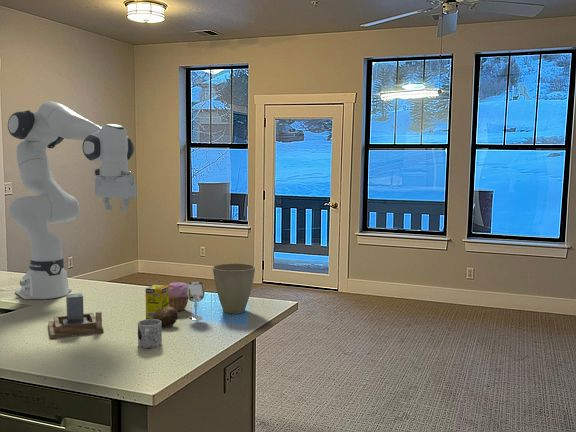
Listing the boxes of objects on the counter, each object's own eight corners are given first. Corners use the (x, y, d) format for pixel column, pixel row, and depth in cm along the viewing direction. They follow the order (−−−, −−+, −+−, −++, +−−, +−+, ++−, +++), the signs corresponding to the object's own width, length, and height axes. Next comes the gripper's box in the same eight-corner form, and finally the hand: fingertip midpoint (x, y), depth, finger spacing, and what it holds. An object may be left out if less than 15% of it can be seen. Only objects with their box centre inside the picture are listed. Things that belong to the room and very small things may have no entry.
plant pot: (263, 311, 200) (263, 267, 198) (229, 319, 190) (229, 272, 188) (238, 303, 211) (238, 261, 209) (204, 310, 201) (204, 266, 199)
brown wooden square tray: (48, 325, 181) (47, 306, 181) (97, 319, 188) (97, 301, 187) (50, 338, 168) (50, 318, 167) (103, 332, 174) (103, 312, 174)
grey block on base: (62, 323, 179) (61, 293, 178) (86, 320, 182) (85, 291, 181) (64, 329, 173) (63, 299, 172) (88, 326, 176) (87, 296, 175)
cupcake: (161, 309, 202) (160, 281, 201) (182, 305, 208) (182, 278, 207) (173, 314, 195) (173, 285, 194) (195, 310, 201) (195, 282, 200)
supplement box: (162, 322, 186) (161, 289, 185) (145, 320, 187) (144, 288, 186) (169, 317, 192) (169, 285, 191) (153, 315, 193) (152, 284, 192)
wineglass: (183, 318, 191) (183, 283, 190) (197, 314, 195) (197, 280, 194) (194, 321, 187) (194, 286, 186) (208, 318, 191) (207, 283, 190)
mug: (140, 341, 167) (140, 319, 166) (163, 341, 167) (163, 319, 166) (133, 352, 157) (133, 329, 156) (158, 352, 157) (157, 329, 156)
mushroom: (172, 310, 189) (167, 298, 185) (185, 323, 184) (180, 311, 180) (152, 324, 185) (146, 312, 181) (164, 338, 180) (159, 326, 176)
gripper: (141, 171, 192) (141, 212, 193) (106, 170, 205) (107, 208, 206) (125, 172, 187) (125, 213, 188) (91, 170, 200) (92, 209, 201)
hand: (116, 211), depth 197 cm, fingers open, 8 cm apart
